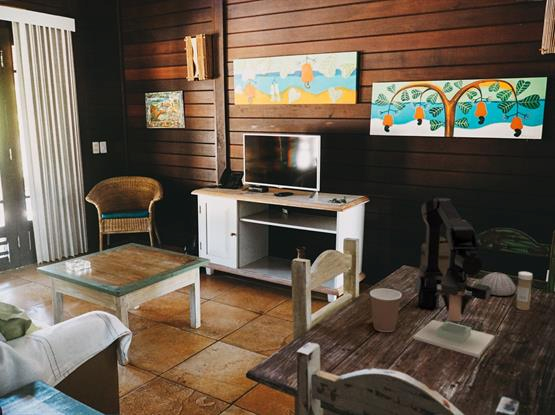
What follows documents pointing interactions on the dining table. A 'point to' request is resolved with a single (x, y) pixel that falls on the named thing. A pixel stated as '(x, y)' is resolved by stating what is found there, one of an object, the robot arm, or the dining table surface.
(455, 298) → the terracotta peg
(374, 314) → the coffee cup
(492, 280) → the sea urchin shell
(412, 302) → the dining table surface
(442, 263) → the wooden container
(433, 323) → the socket board
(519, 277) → the sprinkles bottle
